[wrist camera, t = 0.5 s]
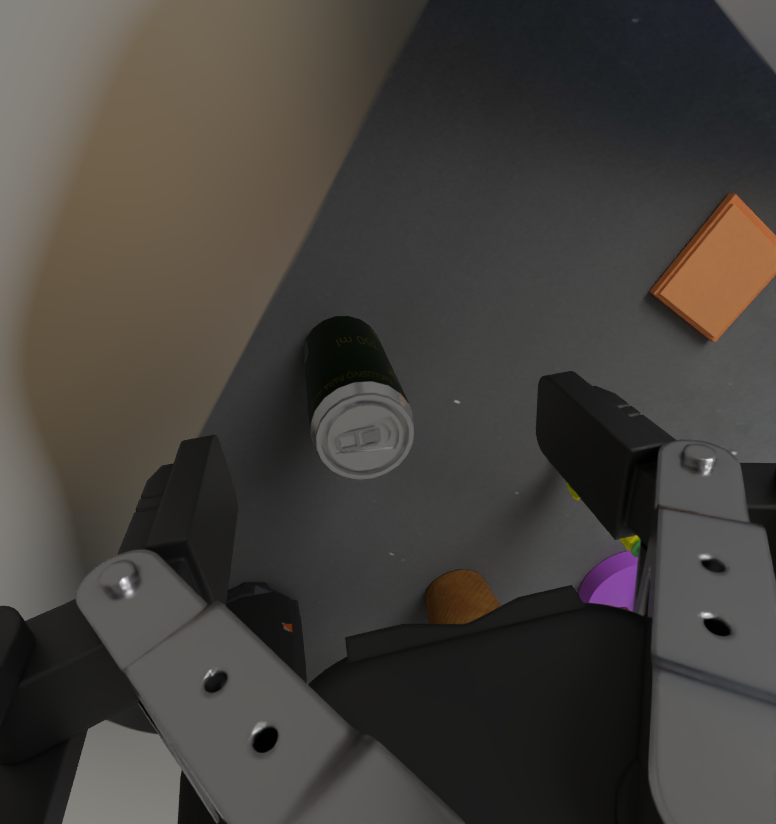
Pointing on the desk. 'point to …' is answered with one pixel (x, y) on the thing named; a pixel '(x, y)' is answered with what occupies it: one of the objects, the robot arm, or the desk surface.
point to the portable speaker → (281, 633)
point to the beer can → (355, 400)
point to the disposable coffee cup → (459, 598)
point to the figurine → (611, 582)
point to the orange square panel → (720, 269)
